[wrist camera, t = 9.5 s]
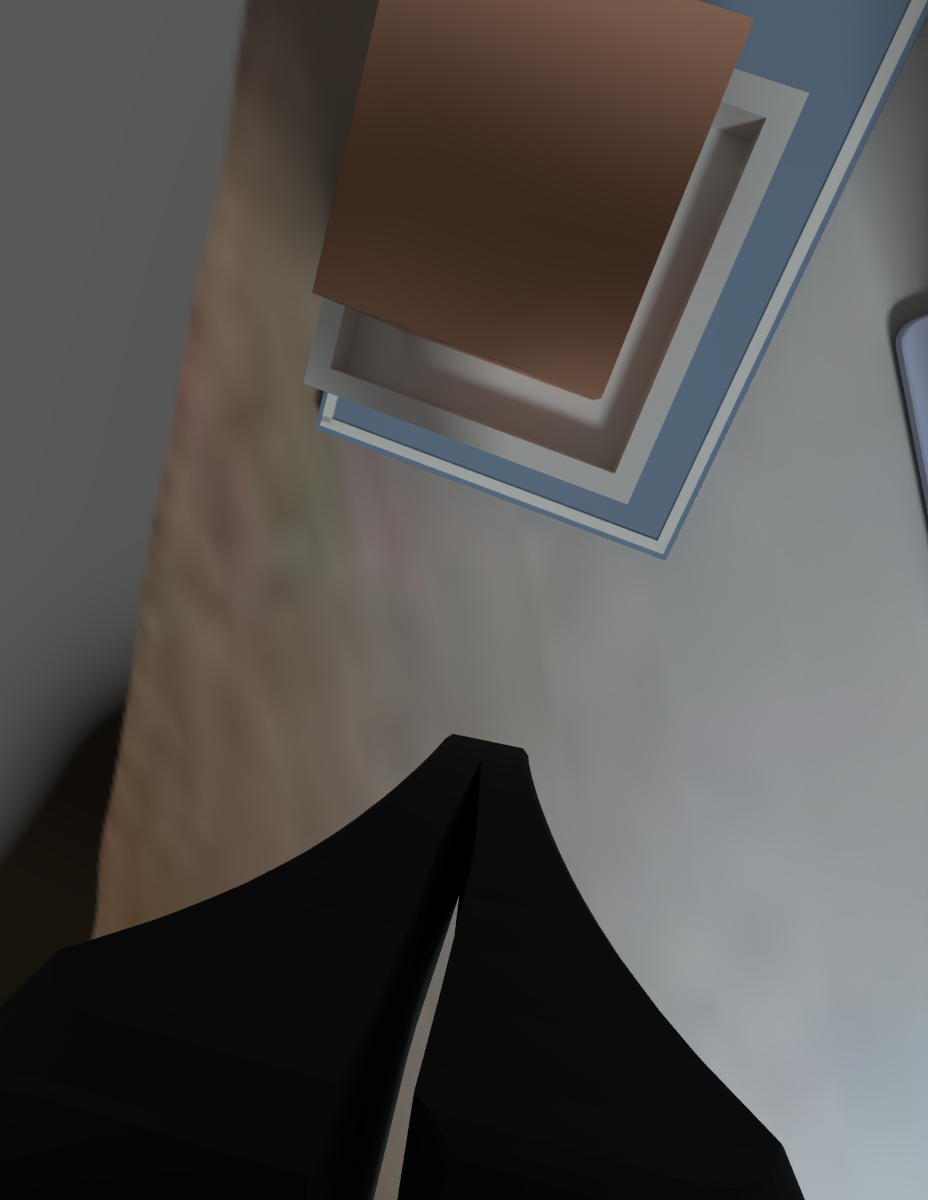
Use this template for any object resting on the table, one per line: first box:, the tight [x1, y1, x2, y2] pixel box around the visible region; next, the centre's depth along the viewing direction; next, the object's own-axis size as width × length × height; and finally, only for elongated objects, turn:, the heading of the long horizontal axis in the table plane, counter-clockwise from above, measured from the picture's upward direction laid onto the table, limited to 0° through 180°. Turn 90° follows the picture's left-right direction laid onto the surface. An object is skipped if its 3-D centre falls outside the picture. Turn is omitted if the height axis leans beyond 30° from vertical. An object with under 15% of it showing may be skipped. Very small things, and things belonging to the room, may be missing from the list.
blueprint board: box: [315, 0, 928, 560], centre depth 15 cm, size 22×11×1 cm, turn 161°
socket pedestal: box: [303, 68, 809, 504], centre depth 14 cm, size 8×8×4 cm
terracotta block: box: [312, 0, 754, 400], centre depth 10 cm, size 4×4×5 cm
